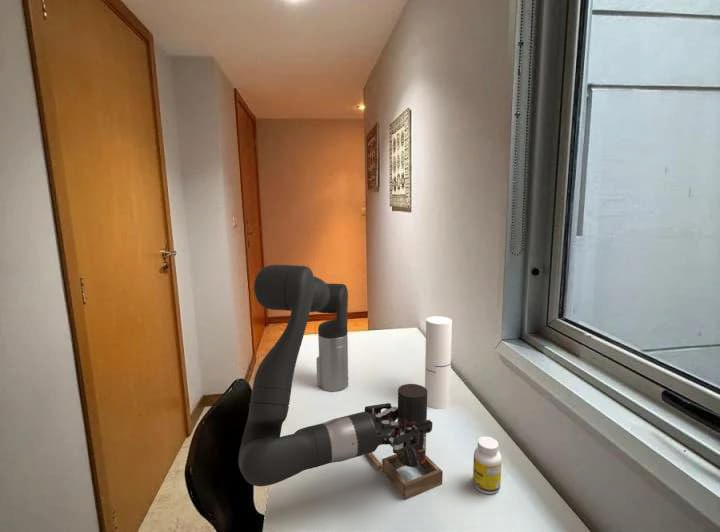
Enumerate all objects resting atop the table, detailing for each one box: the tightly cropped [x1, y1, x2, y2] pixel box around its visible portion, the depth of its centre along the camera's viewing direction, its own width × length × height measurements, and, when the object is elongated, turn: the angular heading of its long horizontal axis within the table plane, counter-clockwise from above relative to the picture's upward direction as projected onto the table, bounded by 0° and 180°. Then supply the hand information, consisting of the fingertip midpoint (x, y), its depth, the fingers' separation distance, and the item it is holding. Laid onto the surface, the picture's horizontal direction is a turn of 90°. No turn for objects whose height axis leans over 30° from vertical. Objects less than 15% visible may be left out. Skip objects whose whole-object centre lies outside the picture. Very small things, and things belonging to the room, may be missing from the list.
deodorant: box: [397, 383, 428, 468], centre depth 79 cm, size 6×6×15 cm
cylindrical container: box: [424, 315, 453, 410], centre depth 110 cm, size 7×7×25 cm
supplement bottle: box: [472, 436, 503, 495], centre depth 78 cm, size 5×5×10 cm
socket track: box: [364, 452, 444, 500], centre depth 85 cm, size 18×11×3 cm, turn 27°
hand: (421, 417), depth 80 cm, fingers closed on deodorant, 6 cm apart
